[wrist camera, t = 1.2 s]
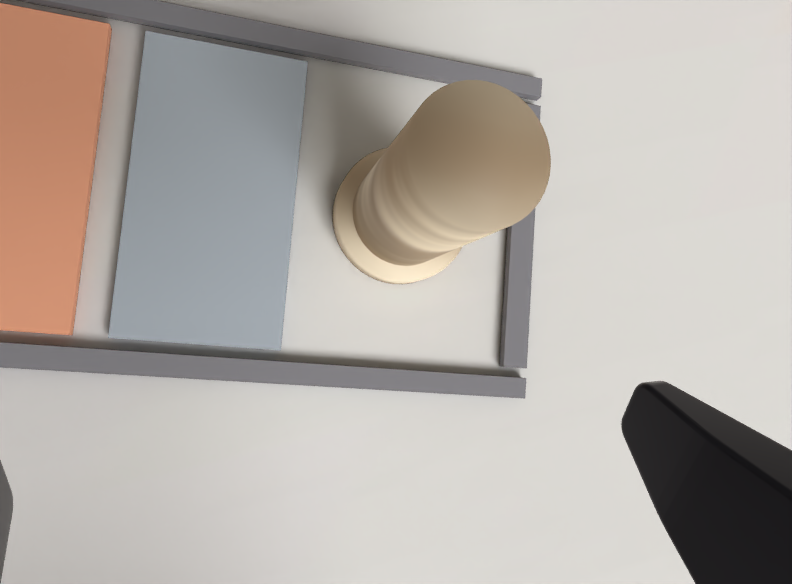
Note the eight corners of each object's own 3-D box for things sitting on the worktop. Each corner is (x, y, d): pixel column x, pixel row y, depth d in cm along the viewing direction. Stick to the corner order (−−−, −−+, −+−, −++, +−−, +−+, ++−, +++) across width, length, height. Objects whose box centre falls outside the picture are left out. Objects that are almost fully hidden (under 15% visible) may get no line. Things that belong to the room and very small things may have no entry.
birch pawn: (455, 290, 24) (566, 264, 16) (327, 277, 23) (375, 241, 15) (463, 164, 25) (574, 77, 16) (338, 145, 23) (391, 39, 15)
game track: (520, 397, 25) (525, 398, 24) (-421, 341, 17) (-437, 341, 17) (537, 82, 26) (541, 78, 25) (-331, -92, 19) (-343, -102, 18)
